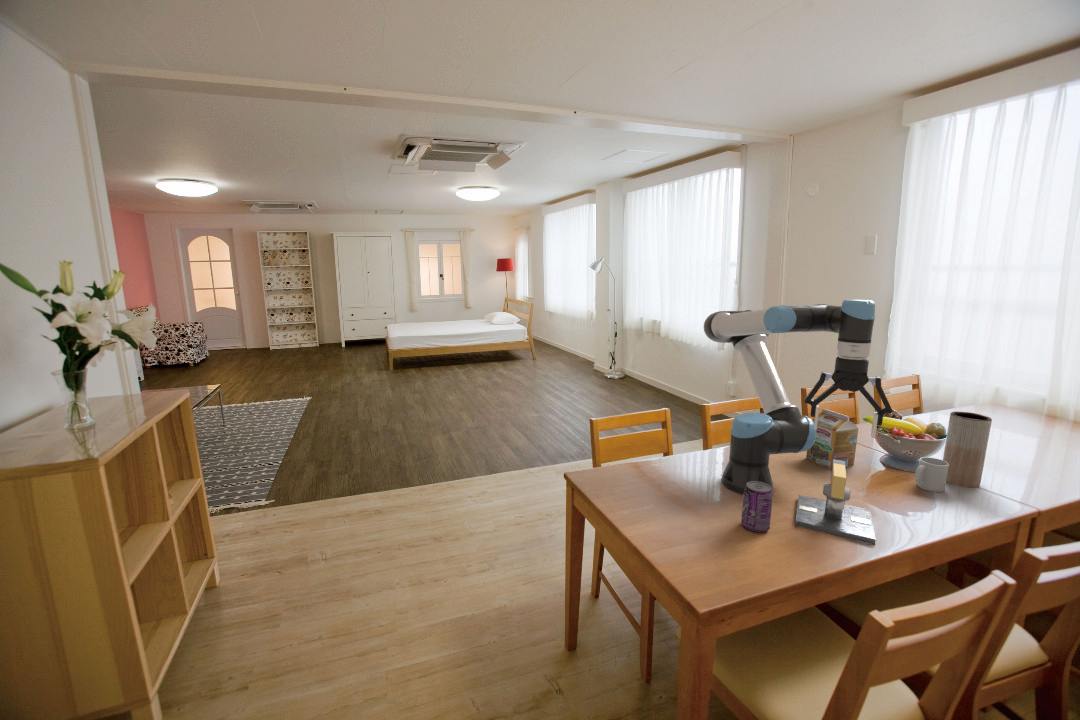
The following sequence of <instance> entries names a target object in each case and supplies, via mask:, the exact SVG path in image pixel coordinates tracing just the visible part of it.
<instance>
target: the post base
mask: <svg viewBox="0 0 1080 720" xmlns="http://www.w3.org/2000/svg"><path fill="white" fill-rule="evenodd" d="M825 498H826V499H822V498H816V497H812V496H807V495H803V494H798V499H797V507H796V513H795V515H796V516H795V523H794V526H795V527H800V528H802V529H803V528H804V529H807V530H811V531H816V532H820V533H823V534H829V535H832V536H836V537H841V538H844V539H849V540H852V541H857V542H861V543H865V544H869V545H874V546H875V545H876V541H877V540H876V539H877V538H876V534H875V528H874V522H873V516H872V511H871V509H868V508H866V507H865V508H864V507H860V506H854V505H851V504H846V501H839V500H834V499H831V498H828V497H826V496H825Z"/></svg>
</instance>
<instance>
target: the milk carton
mask: <svg viewBox="0 0 1080 720" xmlns="http://www.w3.org/2000/svg"><path fill="white" fill-rule="evenodd" d="M812 421H813V422H814V421H815V417H813V419H812ZM858 427H859V426H857V425H856V424H855V423H854V422H852V421H850V417H849V415H845V414H842V413H838V412H836V411H832V410H830V409H826V408H822V409H821V412H820V413H818V423H817V430H816V439H815V442H814V444H813V446H812V447H811V448H810V449H809V450H807V451H806V454H805V455H806V456H805V459H806V458H807V459H806V460H808V459H809V461H811V462H813V463H815V464H818V465H819V466H822V467H824V468H826V469H829V470H831V471H832V464H833V459H835V460H841V461H845V468H849V467H854V466H855V457H856V451H857V450H856V449H857V443H858V442H857V441H858V434H859V428H858Z"/></svg>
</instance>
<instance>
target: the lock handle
mask: <svg viewBox="0 0 1080 720" xmlns="http://www.w3.org/2000/svg"><path fill="white" fill-rule="evenodd" d="M846 482H847V470H846V467H845V461H841V460H835V459H833V464H832V470H831V474H830V483H825V484H824V485H823V489H822V494H823V496H825V498H826V497H828V498H831V499H834V500H839V501H845V502H846V501H849V500H850V499H851V493H852V491H851V489H849V488H848V487H846V484H847V483H846Z"/></svg>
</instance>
